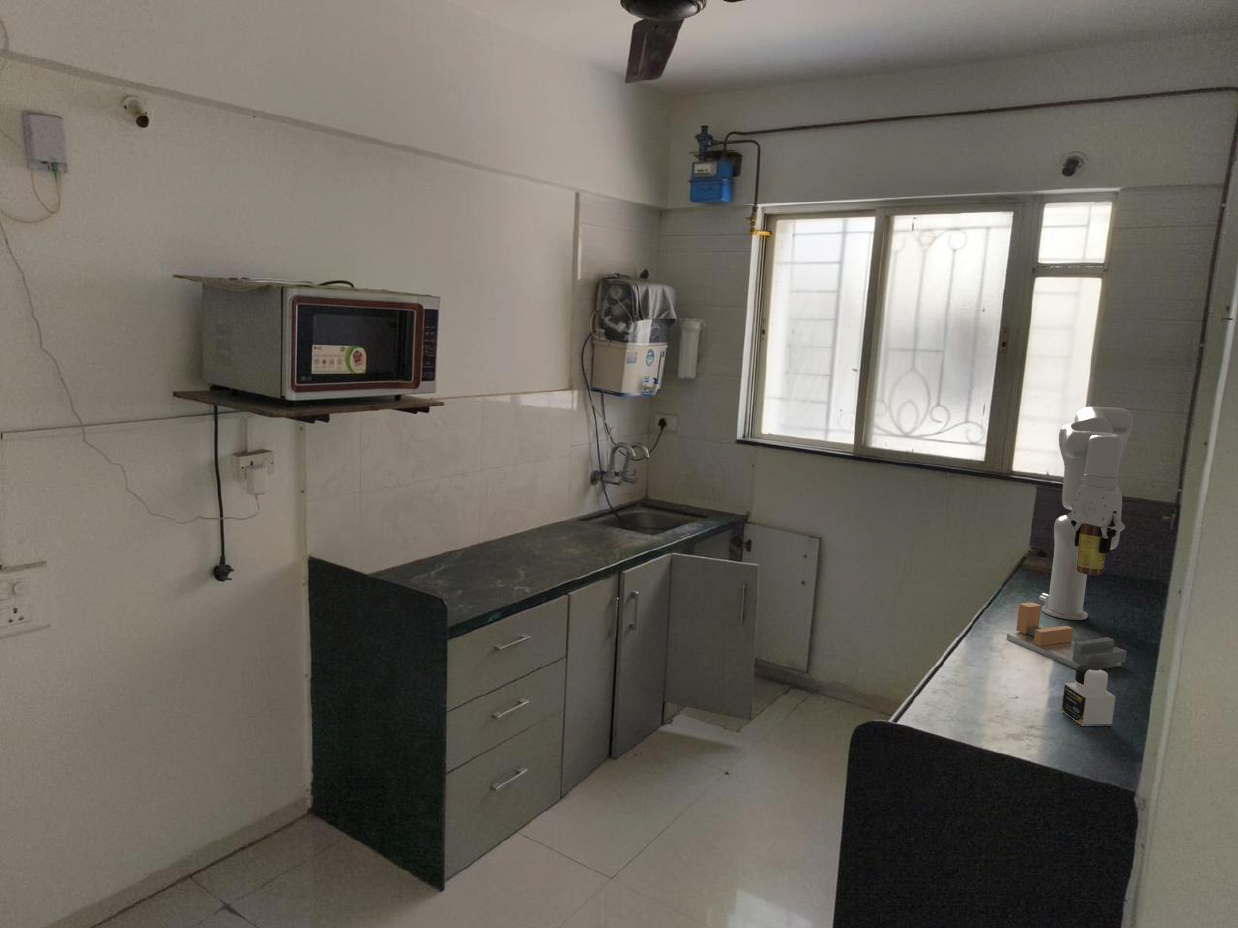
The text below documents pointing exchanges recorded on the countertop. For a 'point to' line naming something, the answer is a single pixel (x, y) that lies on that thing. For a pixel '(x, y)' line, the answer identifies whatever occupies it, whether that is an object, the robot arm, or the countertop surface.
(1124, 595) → the countertop surface
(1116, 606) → the countertop surface
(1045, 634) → the sliding jaw
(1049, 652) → the vise base
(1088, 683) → the medicine bottle
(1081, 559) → the sauce bottle
